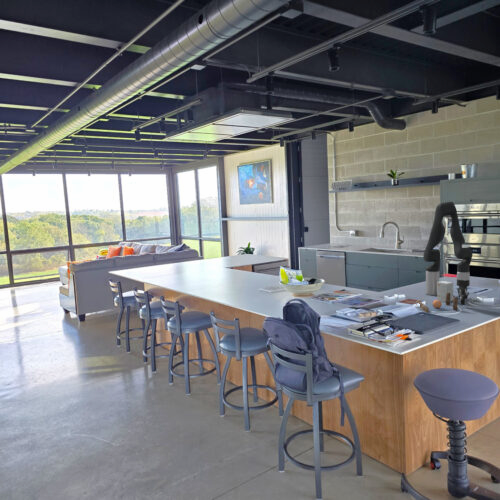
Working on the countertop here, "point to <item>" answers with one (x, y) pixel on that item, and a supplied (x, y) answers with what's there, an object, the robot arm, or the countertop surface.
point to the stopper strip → (423, 306)
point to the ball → (437, 304)
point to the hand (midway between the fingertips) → (462, 304)
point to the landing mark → (438, 308)
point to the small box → (444, 290)
